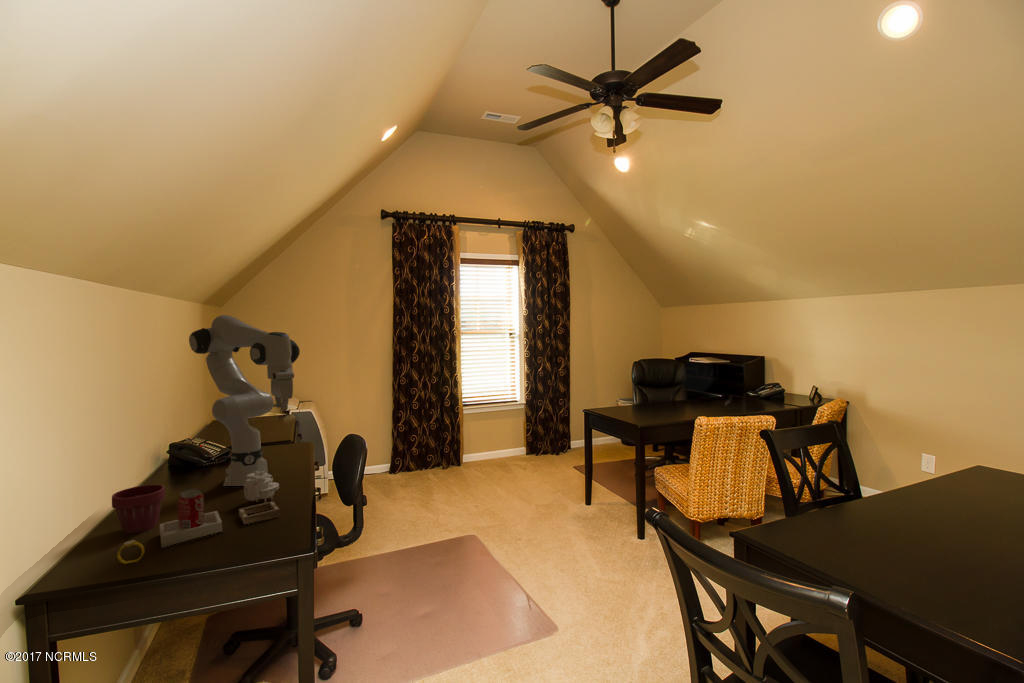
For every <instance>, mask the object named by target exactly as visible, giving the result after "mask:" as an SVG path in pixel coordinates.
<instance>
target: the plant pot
mask: <svg viewBox="0 0 1024 683" xmlns="http://www.w3.org/2000/svg"><path fill="white" fill-rule="evenodd" d="M165 495H166V492H165V486H164V485H162V484H157V483H156V484H154V483H153V484H145V485H139V486H133V487H129V488H125V489H121V490H118V491H117V492H115V493H112V495H111V507H112V508H113V509H115V511H116V514H117V517H118V520H119V523H120V526H121V528H122V533H124V534H136V533H137V534H138V533H142V532H145V531H148V530H151V529H153V528H154V527H156V526H157V525H158V522H159V517H160V512H161V507H162V500H163V499H165V497H166V496H165Z"/></svg>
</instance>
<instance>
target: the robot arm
mask: <svg viewBox="0 0 1024 683" xmlns="http://www.w3.org/2000/svg"><path fill="white" fill-rule="evenodd" d="M188 339H189V340H188V342H189V347H190V349H191V350H192V352H194V353H195V354H200V355H201V354H202V355H203V354H204V355H205V354H207V356H206V357H205V362H206V366H207V369H208V372H209V374H210V376H211V378H212V380H213V382H214V384H215V386H216V387H217V389H218V391H219V392H220V393H223V394H224V395H228V396H225V397H222V398H219V399H217V400H216V401H215V402H214V403H213V405H212V408H211V414H212V415H213V417H214V419H215V420H216V421H218V422H220V423H221V424H223V425H224V426H225V427H226V429H227V430H228V433H229V436H230V441H231V453H230V460H231V462H230V464H229V466H227V467H228V468H225V475H226V477H225V479H224V482H223V486H244V483H245V482H246V480H247V475H249V474H251V473H255V471H259V473H260V472H261V471H265V472H266V473H268V475H269V476H267V477H268V478H270V477H272V478H273V475H272V474H270V473H269V472H268V464H267V463H268V462H267V460H266V459H265V458H263V456H264V455H263V454H264V453H263V448H262V445H261V442H262V440H261V433H260V432H261V431H260V430H259V429H258V428H256V427H254V426H251V424H249V420H248V419H251V418H257V417H261V416H263V415H265V414H268V413H271V412H272V410H273V408H274V404H275V406H276V408H278V409H279V408H281V410H282V411H287V410H288V409H289V408H288V405H289V400H290V399H292V398H293V394H294V393H293V392H294V380H293V379H294V378H295V373H294V371H293V370H294V369H293V364H294V363H295V362H296V361H297V359H299V356H300V351H301V350H300V346H299V345H298V344H297V343H296V342H295V341H294V340H292V339H290V336H289V334H288V333H286V332H283V331H282V332H280V331H273V332H272V331H271V332H266V331H264V330H262V329H259V328H257V327H254V326H251V325H250V324H248V323H246V322H244V321H242V320H240V319H238V318H236V317H234V316H231V315H226V314H222V315H218V316H217V317H215V318H214V319H213V320H212V323H211V327H207V328H206V327H205V328H204V327H203V328H201V329H197V330H194V331H192V332H191V334H190V335H189V337H188ZM241 348H250V349H249V357H250V360H252V362H253V363H254V364H255V365H258V366H266V372H267V374H266V375H267V379H268V380H270V393H269V392H266V391H264V390H261V389H259V388H257V387H256V386H255V385H253V384H252V383H251V382H250V381H249V380H248V379H247V378H246V377H245V375H244V374H243V372H242V370H241V369H240V367H239V365H238V363H237V362H236V361H235V358H234V357H233V353H238V352H239V351H240V349H241ZM273 397H274V398H273ZM267 477H266V478H267ZM254 481H255V479H254Z"/></svg>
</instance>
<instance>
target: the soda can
mask: <svg viewBox="0 0 1024 683" xmlns="http://www.w3.org/2000/svg"><path fill="white" fill-rule="evenodd" d="M204 514H205V497H204V494H203V493H202V490H201V489H200V488H187V489H185V490H183V491H182V492H180V494H179V497H178V499H177V520H178V523H179V528H180V529H183V530H187V529H191V528H195V527H199V526H201V525H202V524H203V522H204Z"/></svg>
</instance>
